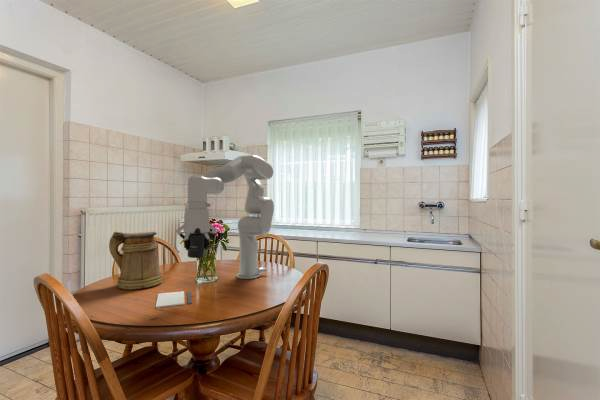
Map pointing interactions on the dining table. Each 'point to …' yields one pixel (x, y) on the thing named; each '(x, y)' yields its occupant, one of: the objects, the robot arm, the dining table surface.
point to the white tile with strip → (172, 299)
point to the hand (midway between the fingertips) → (196, 248)
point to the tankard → (136, 259)
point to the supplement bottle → (196, 244)
